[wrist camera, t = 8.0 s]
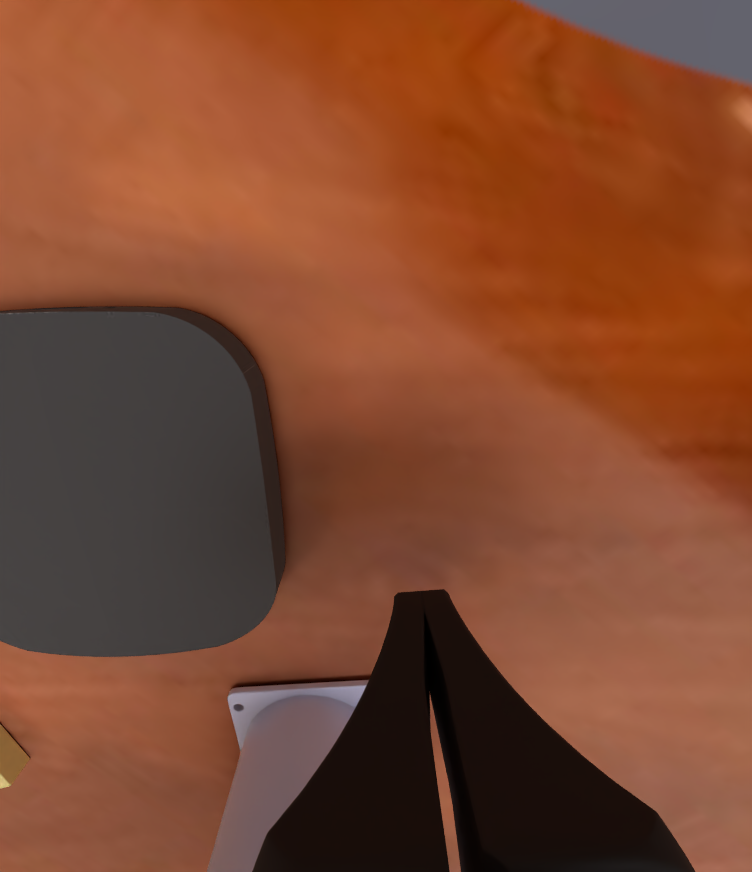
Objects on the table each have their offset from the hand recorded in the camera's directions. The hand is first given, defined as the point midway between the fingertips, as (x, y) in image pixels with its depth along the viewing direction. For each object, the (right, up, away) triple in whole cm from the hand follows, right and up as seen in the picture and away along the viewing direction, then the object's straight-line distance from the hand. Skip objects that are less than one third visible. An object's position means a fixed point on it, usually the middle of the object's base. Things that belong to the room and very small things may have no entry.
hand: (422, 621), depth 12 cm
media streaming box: (-13, +3, +8) cm, 15 cm away
